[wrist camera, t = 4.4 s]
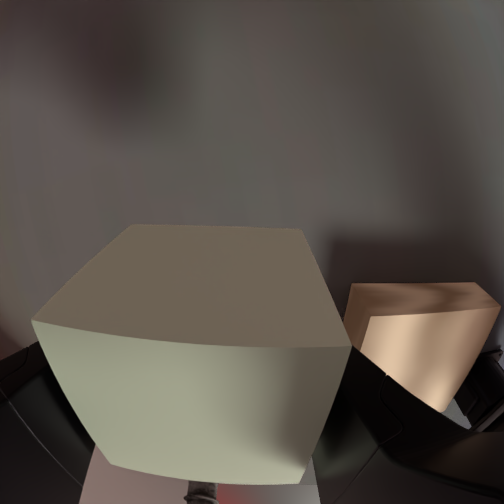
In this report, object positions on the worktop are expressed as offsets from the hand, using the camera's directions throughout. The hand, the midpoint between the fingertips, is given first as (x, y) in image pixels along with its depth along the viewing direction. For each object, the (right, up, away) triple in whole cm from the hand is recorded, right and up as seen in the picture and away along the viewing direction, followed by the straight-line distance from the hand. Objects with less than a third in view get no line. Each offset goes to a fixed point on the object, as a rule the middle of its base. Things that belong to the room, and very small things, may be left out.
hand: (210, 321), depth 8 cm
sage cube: (0, 0, +1) cm, 1 cm away
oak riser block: (+14, -6, +13) cm, 20 cm away
